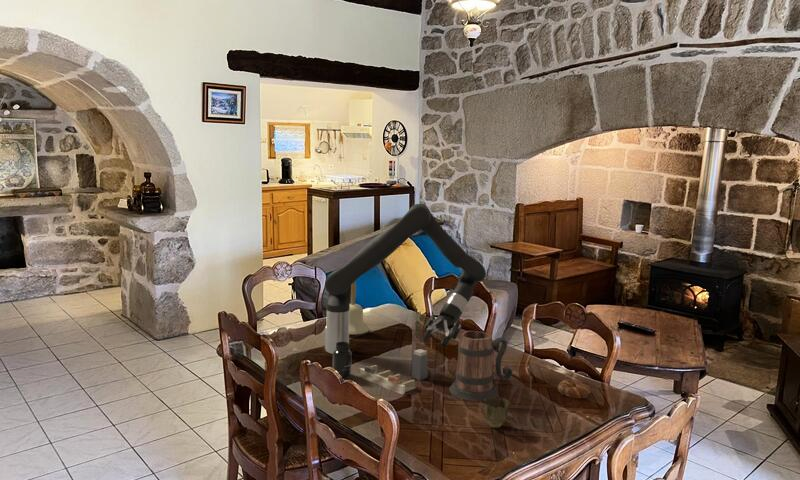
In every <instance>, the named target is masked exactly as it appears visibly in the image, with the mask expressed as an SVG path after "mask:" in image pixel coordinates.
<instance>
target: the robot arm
mask: <svg viewBox="0 0 800 480" xmlns="http://www.w3.org/2000/svg"><path fill="white" fill-rule="evenodd" d="M420 231H422V232H423V233H425V234H426V236H428V237H429V239H430V240H432V242H433V243H434V245H435V246H436V247H437V249H438V250H439V252H440V253H441V254H442V255H443V256H444V257H445V258H446V260H448V262H449V263H450V264H451V265H453V266H454V268H458V269H459V268H460V269H462V270H463V271H462V272H461V274H460V277H459V278H458V282H457V285H456V286H455V287H454V289H453V291H452V293H451V294H450V295H449V296H448V298H447V300H446V301H445V303H444V305H443V306H442V308H441V310H440V311H439V315H438V317H435V316H434V315H433V314H431V315H430V317H429V318H428V319H427V321H426V322H425V324H424V326H423V328H424V329H425V332H424V334H423V336H422V340H423V341H424V342H426V343H427V342H428V341H429V339H430V337H431V335H432V334H433V333H435V332H437V331H442V332H444V333H445V335H444V337H442V339H441V341H440V343H439V345H440V346H441V347H442V348H445V347H446V346H447V345H448V343H449V342H450V340H451V339H453V340H456V339H457V337H458V335H459V333H460V331H461V329H462V325H461V323H460V322H459V321H460V319H461V316H462V315H463V313H464V312H465V310H466V309H467V306H468V303H469V301H470V300H471V298H472V296H473V294H474V286H475V285H476V284H478V283H480V282H482V281H483V280H485V278H486V276H487V271H486V269H485V267H484V266H483V264H482V263H481V262H479V261H478V260H477V259H475V258H474V257H472V255H471V256H470V255H469V254H468V253H467V252H466V251H465V250H464V249H463V248H462V247H461V246H460V245H459V244H458V243H457V242H456V241H455V239H454V238H453V237H451V235H449V234H448V233H447V231H446V230H444V228H443V227H442V226H441V225H440V223H439V222H438V221H437V220H436V219H435V217H434V216H433V214H432V213H431V210H430V208H428V206H426V205H425V204H422V203H416V204H413V205H412V206H410V208H409V209H408V210H407V212H405V214H404V215H403V216H402V217H401V218H400V219H399V220H398V221H397V222H396V223H394V224H393V225H392V226H391V227H388V228H387V229H385V230H384V231H382V232H381V233H379V234H378V235H376V236H375V237H373V238H372V239H371V240H370V241H368V242H367V243H366V244H365V245H363V246H362V248H360V249H359V251H357V252H356V254H355V255H354V256H353V257H352V258H351V259H350V260H349V261H348V262H347V263H346V264H344V265H343V266H341V267H339V268H338V269H335V270H333V271H332V272H331V273H330V274H328V275H327V277H326V278H325V282H324V287H325V290H326V292H327V293H328V298H327V301H326V326H325V327H324V349H325V352H326V353H328V354H332V355H333V352H334V351H335V350H336V343H337V342H348V343H349V344H350V334H349V309H350V304H351V284H352V283H353V282H355V281H357V280H358V279H359V278H361V276H363V275H364V274H367V272H369V271H370V270H373V269H374V268H375V267H377V266H379V265H380V264H381V263H382V262H383V261H384V260H386V259H387V258H388V257H390V256H391V255H392V254H393V253H394V252H395V251H396V250H397V249H398V248H399V247H400V246H401V245H402V244H403V243H404V242H405V241H407V240H408V239H409V238H410V237H411V236H414V234H416V233H418V232H420Z"/></svg>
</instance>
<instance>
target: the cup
mask: <svg viewBox="0 0 800 480" xmlns="http://www.w3.org/2000/svg"><path fill="white" fill-rule="evenodd" d="M483 402H484V413H485V418H486V420H487V421H488V422H489V423H488V424H489V426H490V428H492V429H500V428H501V427H502V425H503V423H504V422H505V421H506V420H507V418H508V414H509V413H508V412H509V409H510V401H509V400H508V399H506V398H504V397H502V398H501V397H500V396H496V397H491V398H490V399H489V398H487V399H485V400H484V401H483Z"/></svg>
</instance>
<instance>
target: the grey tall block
mask: <svg viewBox="0 0 800 480" xmlns="http://www.w3.org/2000/svg"><path fill="white" fill-rule="evenodd" d="M411 362H412V364H411V365H412V367H411V378H413V379H414V380H419V381H422V380H425V379H427V378H428V371H429V354H428V351H427V350H425V349H422V348H418V349H416V350H414V351H413V353H412V361H411Z"/></svg>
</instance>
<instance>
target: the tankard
mask: <svg viewBox="0 0 800 480" xmlns="http://www.w3.org/2000/svg"><path fill="white" fill-rule="evenodd" d="M492 339H493V338H492V335H491V334H489V333H487V332H483V331H477V330H467V331H466V330H465V331H464V332H462V333H461V336H460V339H459V343H458V345H457V346H458V347H457V349H458V350H457V351H458V354H457V364H456V365H457V367H456V370H455V381H453V383H452V384H451V386H449V390H448V391H449V393H450V394H452V396H454V397H456V398H458V399H462V400H466V401H472V402H473V401H474V402H476V401H477V402H480V401H482V402H484V400H485V399H487V398H489V399H490V398H491V397H496V398H497V397H498V395H499V391H498V389H497V388H496V386H495V384H493V382H494V381H493V380H494V373H493V367H494V366H493V363H494V361H493V360H494V359H493V356H494V355H493V354H494V352H496V353H497V355H496V358H495V371H496V375H497V377H498V378H499V379H501V380H503V381H508V380H510V379H511V378H512V376H513V370H512V369H511V367H508V366H504V367H503V368H501V367H502V366H501V365H502V360H503V357H504V354H505V352H506V350H507V346H508V345H507V344H508V343H507V341H506V340H505V339H504V338H503V337H497V338H496V339H494V340H493V341H492ZM500 343H501V344H500ZM502 373H503V374H502Z"/></svg>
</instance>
